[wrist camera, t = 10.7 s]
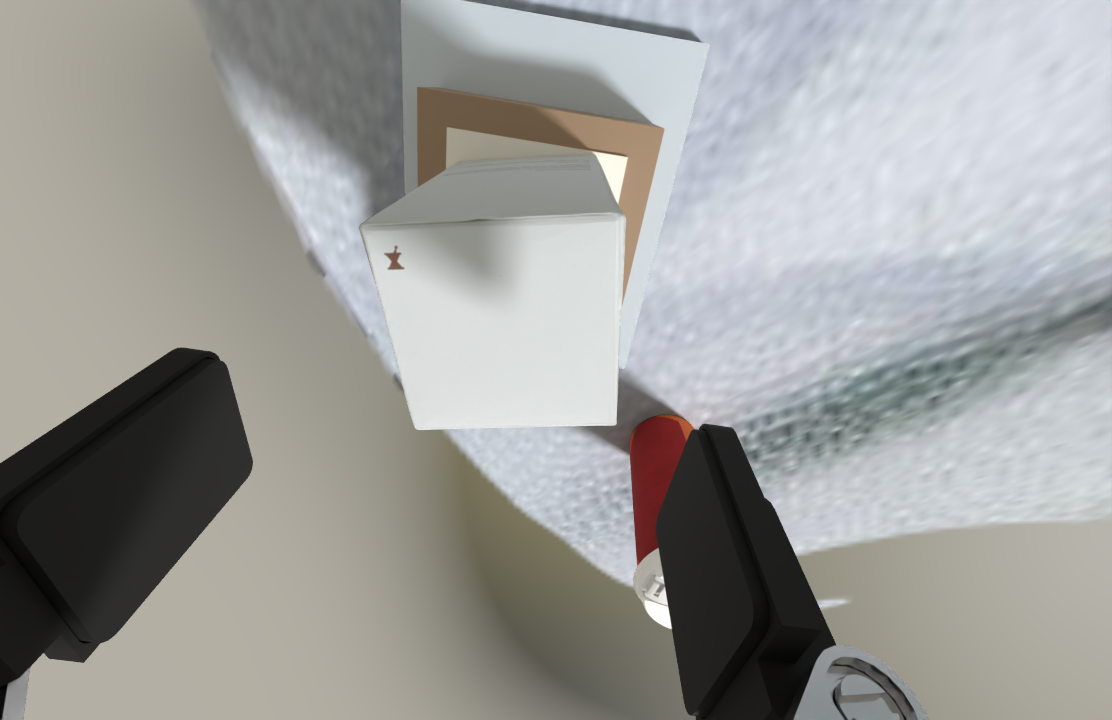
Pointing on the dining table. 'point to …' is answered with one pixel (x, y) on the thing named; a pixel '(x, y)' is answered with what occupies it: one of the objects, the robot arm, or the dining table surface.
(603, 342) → the supplement box
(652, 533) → the paper cup
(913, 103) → the dining table surface
